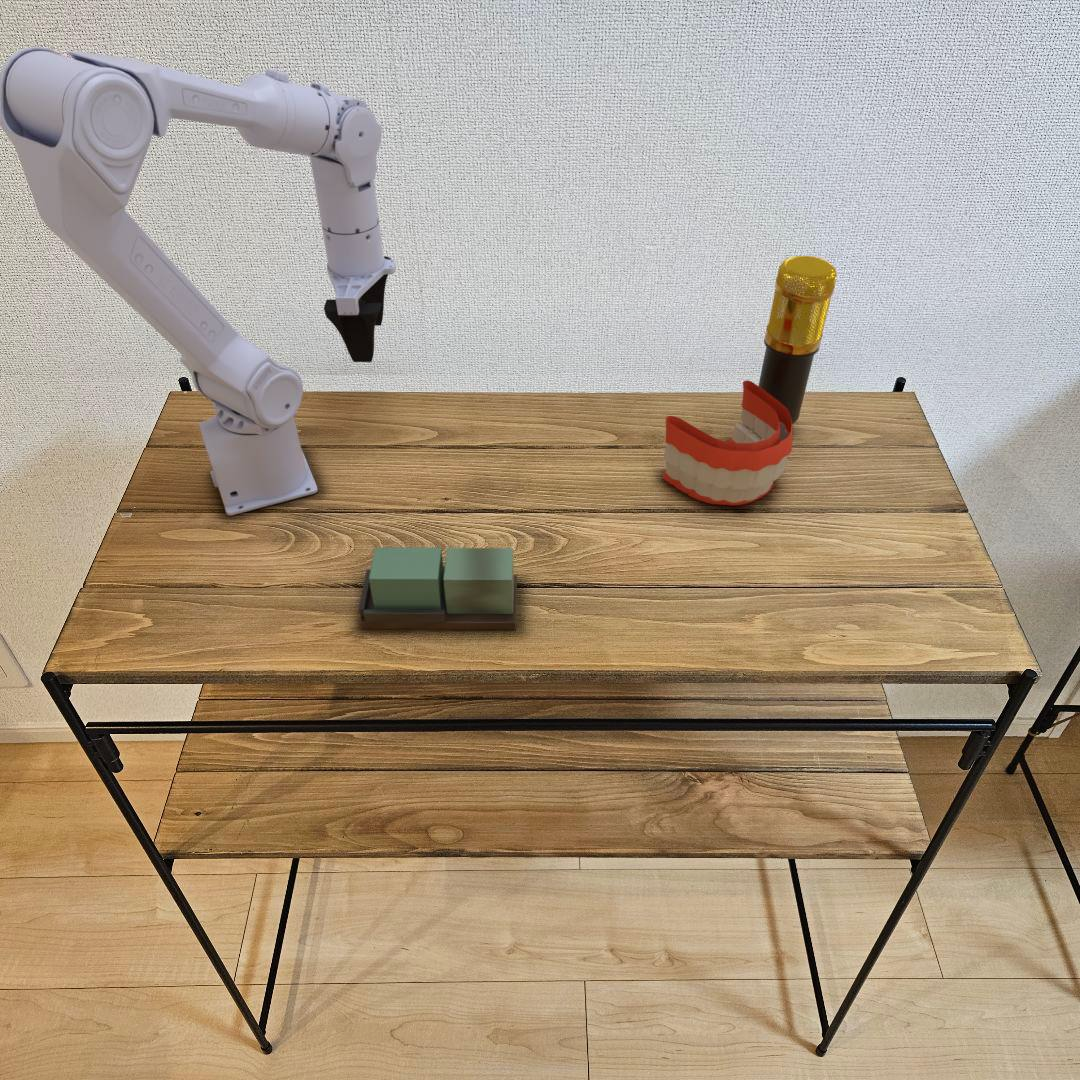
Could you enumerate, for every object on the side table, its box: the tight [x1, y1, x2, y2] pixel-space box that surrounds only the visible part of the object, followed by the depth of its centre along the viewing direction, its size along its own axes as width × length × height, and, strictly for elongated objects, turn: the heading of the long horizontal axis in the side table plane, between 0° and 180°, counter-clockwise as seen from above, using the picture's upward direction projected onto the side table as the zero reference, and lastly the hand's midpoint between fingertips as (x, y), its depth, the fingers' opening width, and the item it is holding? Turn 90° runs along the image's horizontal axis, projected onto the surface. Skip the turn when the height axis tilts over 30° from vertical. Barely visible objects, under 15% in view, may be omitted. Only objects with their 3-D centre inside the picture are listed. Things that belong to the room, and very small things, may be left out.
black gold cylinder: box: [757, 255, 838, 426], centre depth 96 cm, size 6×13×20 cm, turn 94°
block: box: [369, 546, 444, 610], centre depth 80 cm, size 6×4×4 cm, turn 90°
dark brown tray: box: [358, 547, 518, 631], centre depth 81 cm, size 14×6×6 cm, turn 90°
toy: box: [662, 379, 794, 506], centre depth 93 cm, size 12×10×8 cm
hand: (367, 341), depth 98 cm, fingers open, 7 cm apart
